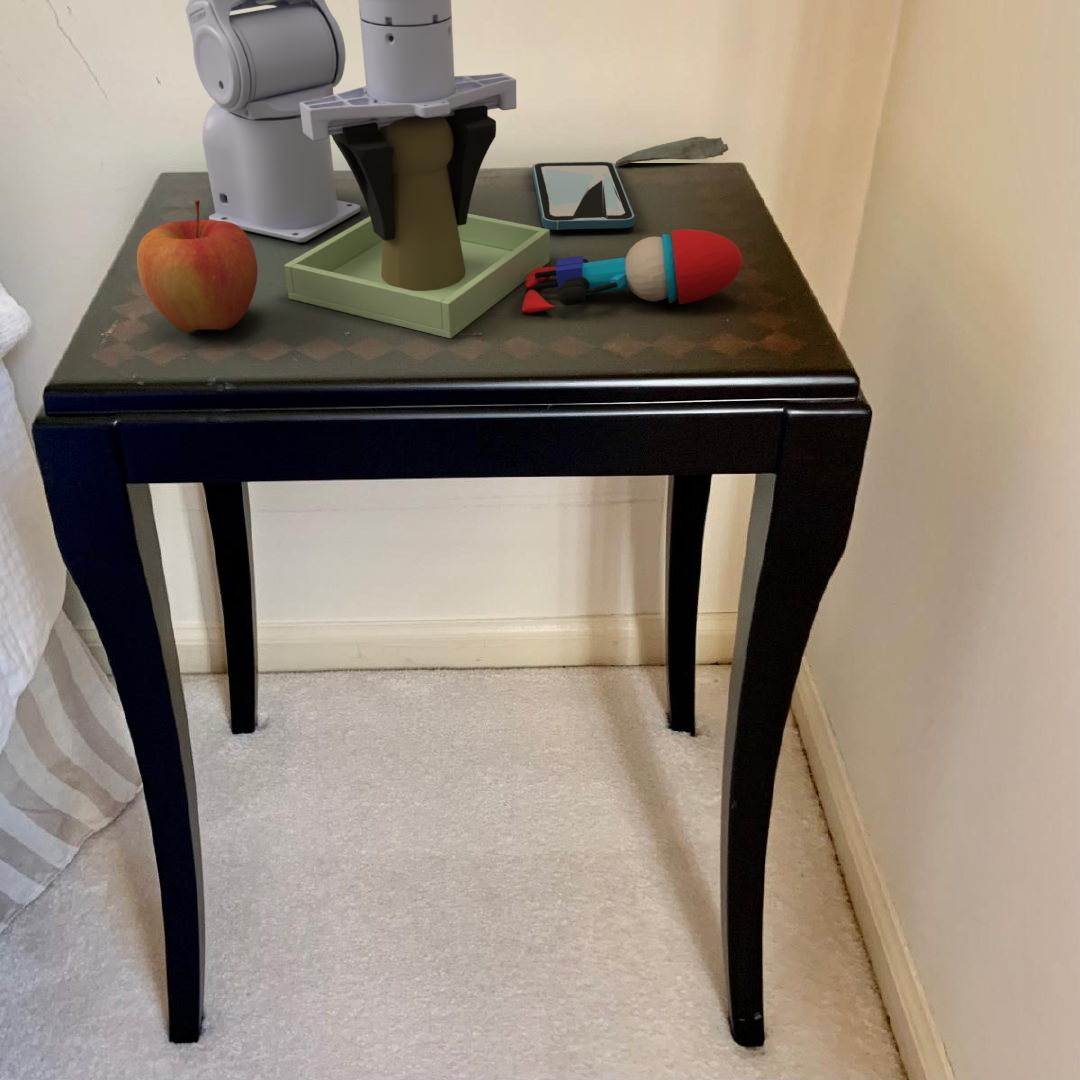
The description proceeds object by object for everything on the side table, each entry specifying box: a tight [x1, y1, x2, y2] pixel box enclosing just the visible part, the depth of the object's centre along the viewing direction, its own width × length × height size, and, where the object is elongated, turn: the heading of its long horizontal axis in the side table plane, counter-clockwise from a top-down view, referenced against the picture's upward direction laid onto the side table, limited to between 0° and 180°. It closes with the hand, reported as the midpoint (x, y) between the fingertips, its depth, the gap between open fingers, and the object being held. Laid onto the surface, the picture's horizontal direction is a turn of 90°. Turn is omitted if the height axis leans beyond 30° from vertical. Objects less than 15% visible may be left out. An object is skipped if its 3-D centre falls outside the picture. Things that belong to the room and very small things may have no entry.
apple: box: [136, 199, 258, 334], centre depth 70 cm, size 7×7×8 cm
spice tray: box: [283, 213, 551, 339], centre depth 78 cm, size 13×14×2 cm
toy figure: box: [521, 228, 743, 314], centre depth 75 cm, size 8×5×15 cm
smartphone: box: [532, 161, 636, 232], centre depth 91 cm, size 7×1×15 cm
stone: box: [615, 136, 729, 167], centre depth 100 cm, size 11×2×5 cm
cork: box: [378, 116, 466, 291], centre depth 75 cm, size 6×6×11 cm
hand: (420, 227), depth 76 cm, fingers closed on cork, 5 cm apart
